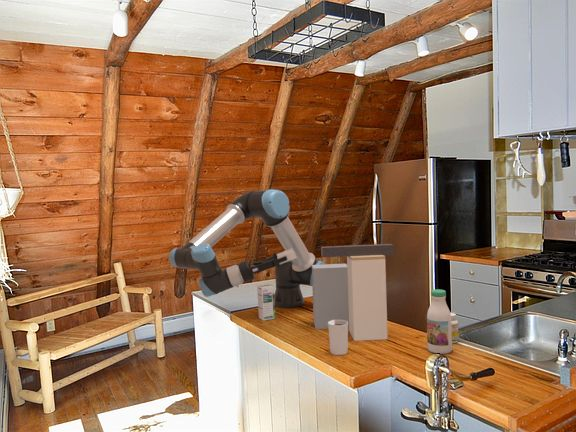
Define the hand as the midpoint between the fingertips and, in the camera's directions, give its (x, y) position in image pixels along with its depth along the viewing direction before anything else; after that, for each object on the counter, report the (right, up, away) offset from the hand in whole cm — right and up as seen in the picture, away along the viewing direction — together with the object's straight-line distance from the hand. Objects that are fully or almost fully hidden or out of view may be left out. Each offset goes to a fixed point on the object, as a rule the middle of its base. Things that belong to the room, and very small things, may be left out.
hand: (294, 252), depth 168 cm
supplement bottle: (+54, -30, -11) cm, 63 cm away
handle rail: (+23, -1, -2) cm, 23 cm away
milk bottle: (+48, -31, -19) cm, 60 cm away
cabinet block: (+27, -30, -1) cm, 41 cm away
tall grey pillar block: (+15, -30, +14) cm, 37 cm away
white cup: (+15, -32, -17) cm, 39 cm away
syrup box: (-12, -31, +27) cm, 43 cm away
